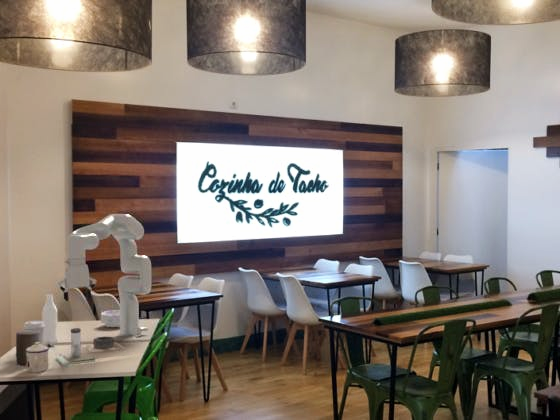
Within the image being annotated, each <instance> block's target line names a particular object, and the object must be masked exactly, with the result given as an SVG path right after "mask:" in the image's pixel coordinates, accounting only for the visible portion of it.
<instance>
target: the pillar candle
mask: <svg viewBox="0 0 560 420" xmlns="http://www.w3.org/2000/svg"><path fill="white" fill-rule="evenodd" d="M39 332H40V331H38V330H28V329H27V330H24V329H23V330H19V331H16V335H15V345H16V346H15V359H16V360H15V361H16V362H15V364H16V365H18V366H27V360H26V349H27V348H29V347H31V346H33V345H35V342H39Z"/></svg>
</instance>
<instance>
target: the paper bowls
mask: <svg viewBox="0 0 560 420" xmlns="http://www.w3.org/2000/svg"><path fill="white" fill-rule="evenodd" d="M100 322H101V323H102V324H104V325H105V327H107V328H109V327H117V328H120V309H117V310H116V309H114V310H113V309H112V310H111V309H110V310H104V311H102V312H101V313H100Z"/></svg>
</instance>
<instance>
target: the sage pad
mask: <svg viewBox="0 0 560 420" xmlns="http://www.w3.org/2000/svg"><path fill="white" fill-rule="evenodd" d="M55 357H56V361H58V362H59V363H60V364H61V366H63V367H65V366H73V365H74V366H75V365H79V364H81V363H82V364H88V363H89V362H90V363H95V361H97V359H96V358H89V359H81V360H73V361H70V360H69V359H68V358H67V357H66V356H65V355H60V356H55ZM90 363H89V364H90Z"/></svg>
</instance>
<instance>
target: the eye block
mask: <svg viewBox="0 0 560 420" xmlns="http://www.w3.org/2000/svg"><path fill="white" fill-rule="evenodd" d="M83 347H84V348H85V349H86V350H88V352H89V353H98V352H107V351H115V350H121V349H123V350H124V349H125V347H124V346H123V345H122V344H119V343H118V342H117V341H115V338H114V337H112V336H99V337H98V336H97V337H95V338H93V344H83Z"/></svg>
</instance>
